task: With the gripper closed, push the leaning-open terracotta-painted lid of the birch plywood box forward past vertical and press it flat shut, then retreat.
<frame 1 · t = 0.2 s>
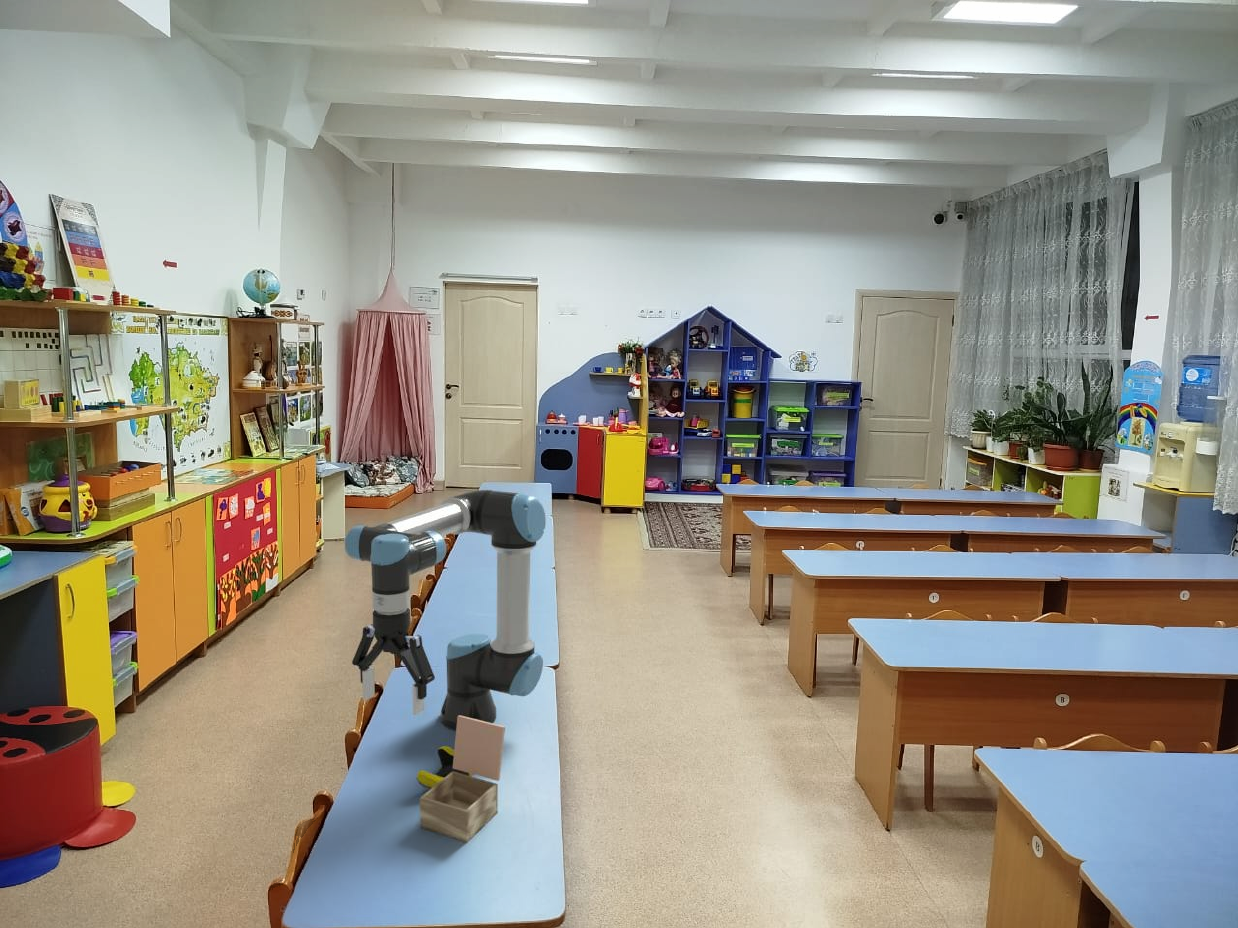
hand: (393, 704, 176), 28 cm above the table, fingers open, 13 cm apart
box: (459, 819, 183), on the table
gaming controller: (447, 782, 198), on the table
lid: (478, 747, 188), point 14 cm above the table, hinge at 100.0°
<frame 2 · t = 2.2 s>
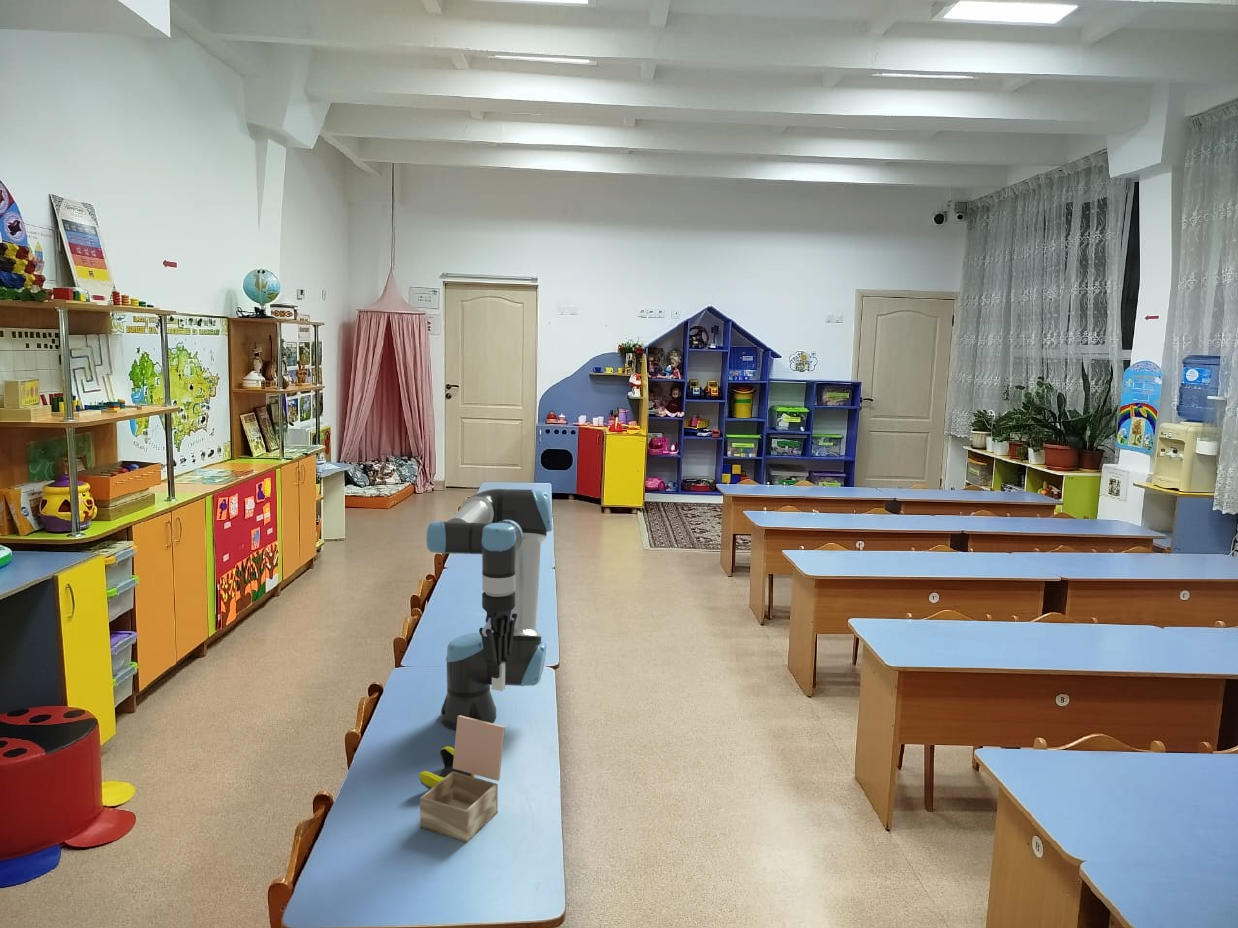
hand: (498, 688, 193), 24 cm above the table, fingers closed
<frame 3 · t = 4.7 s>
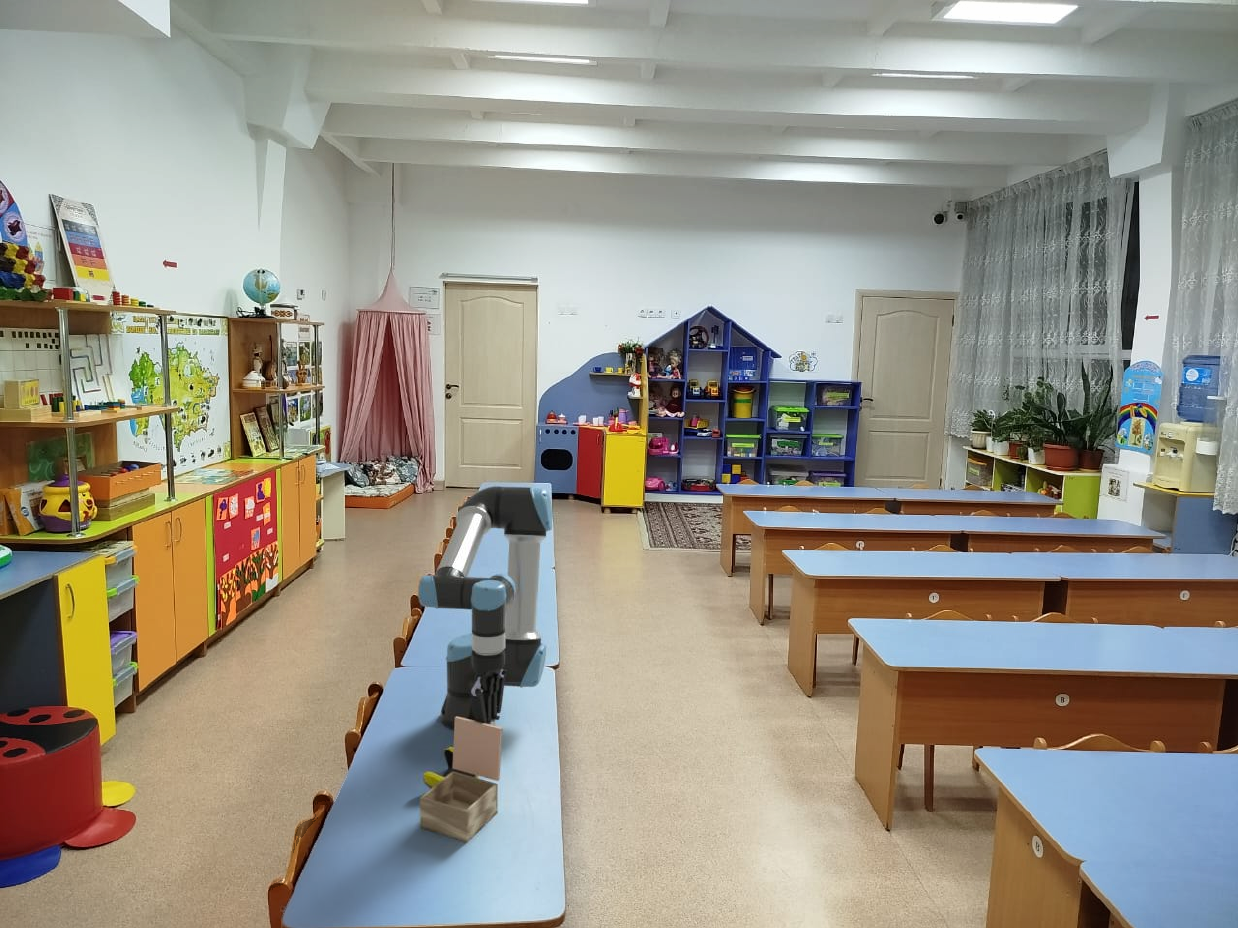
hand: (488, 746, 191), 12 cm above the table, fingers closed
lid: (477, 747, 187), point 14 cm above the table, hinge at 94.9°, touching gripper, hand
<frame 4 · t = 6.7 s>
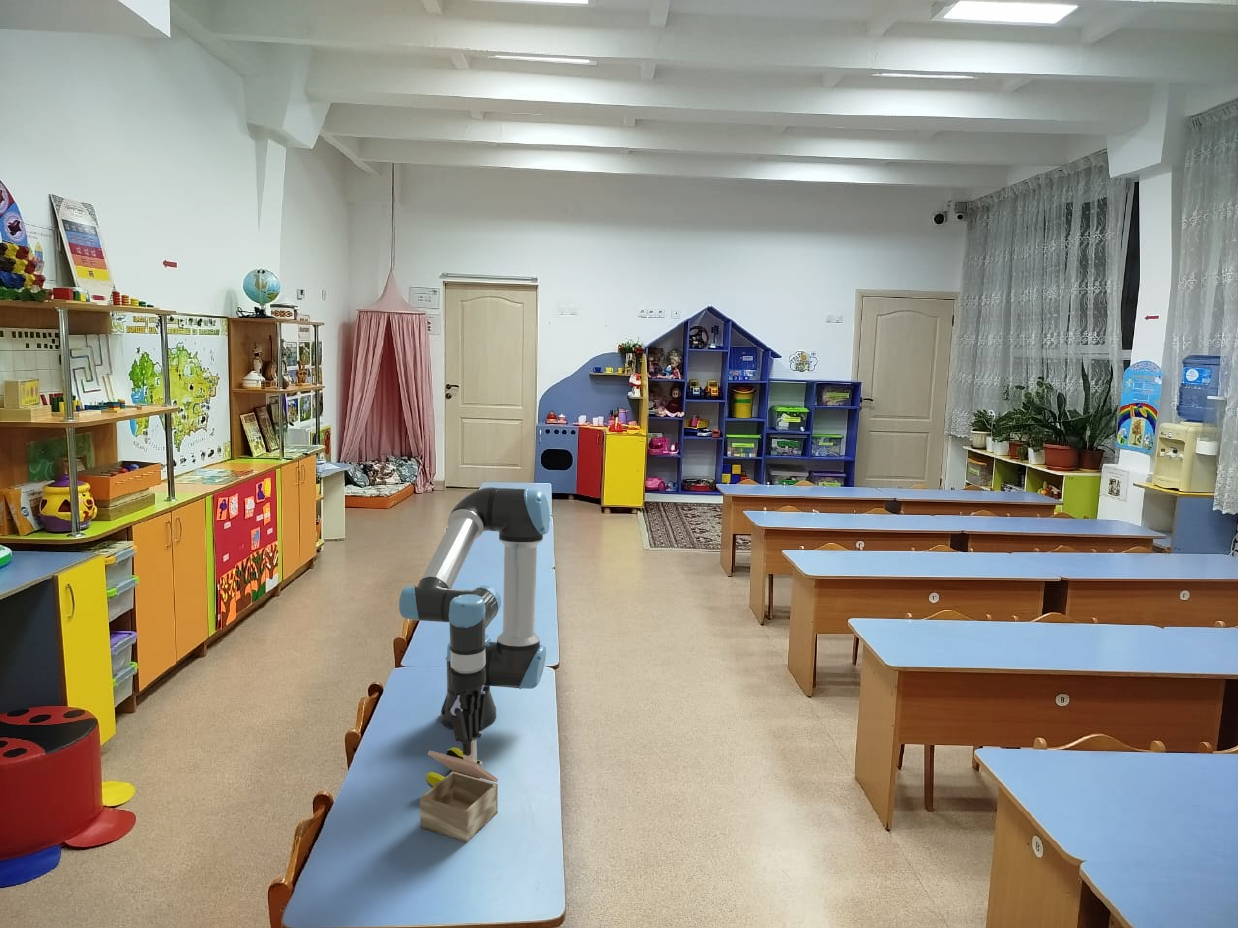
hand: (470, 765, 185), 11 cm above the table, fingers closed
lid: (463, 766, 182), point 12 cm above the table, hinge at 42.9°, touching gripper
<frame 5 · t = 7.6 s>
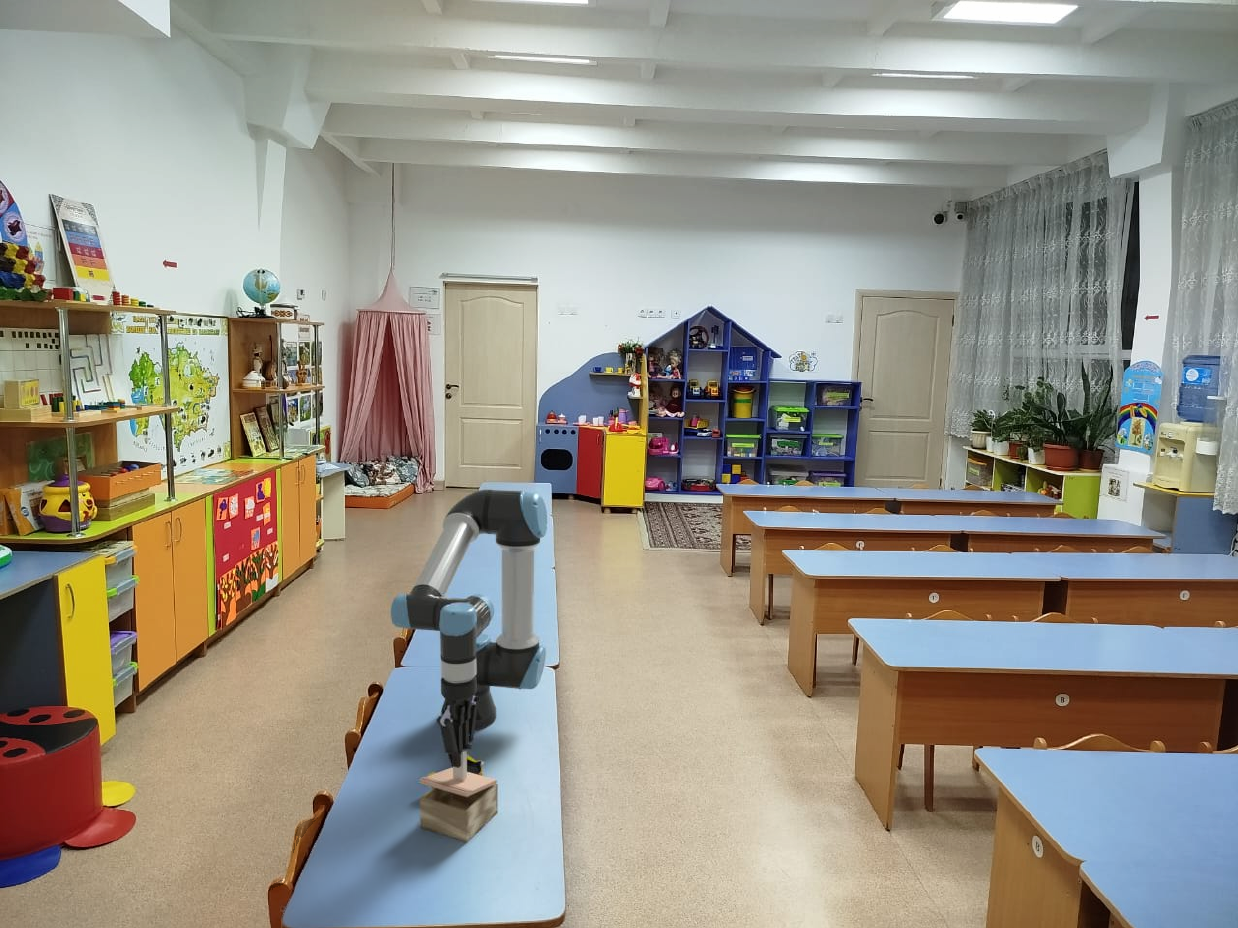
hand: (459, 777, 181), 10 cm above the table, fingers closed
lid: (459, 780, 181), point 9 cm above the table, hinge at 15.3°, touching gripper
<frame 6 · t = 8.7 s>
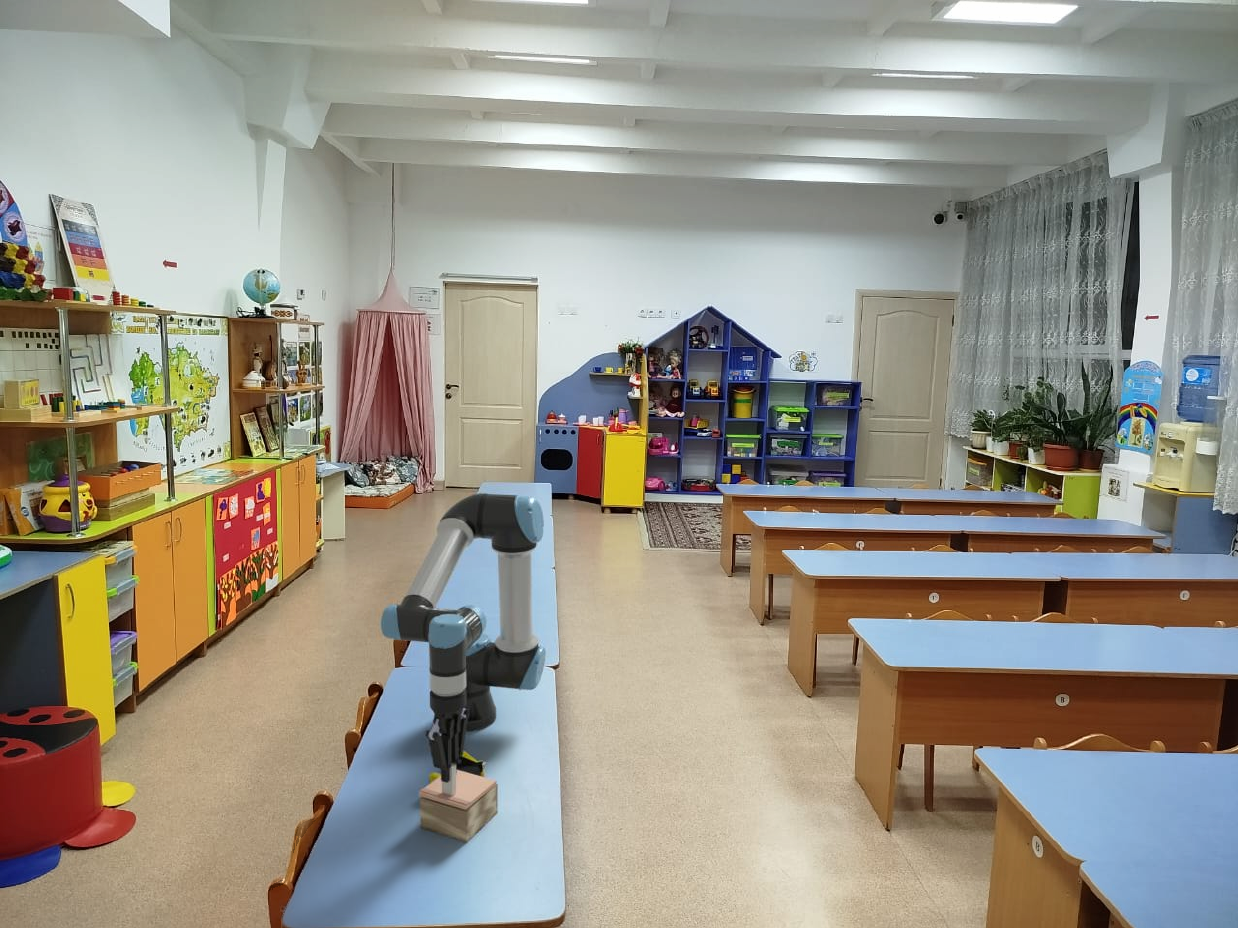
hand: (449, 792, 178), 9 cm above the table, fingers closed
lid: (458, 787, 181), point 8 cm above the table, hinge at 2.7°, touching gripper
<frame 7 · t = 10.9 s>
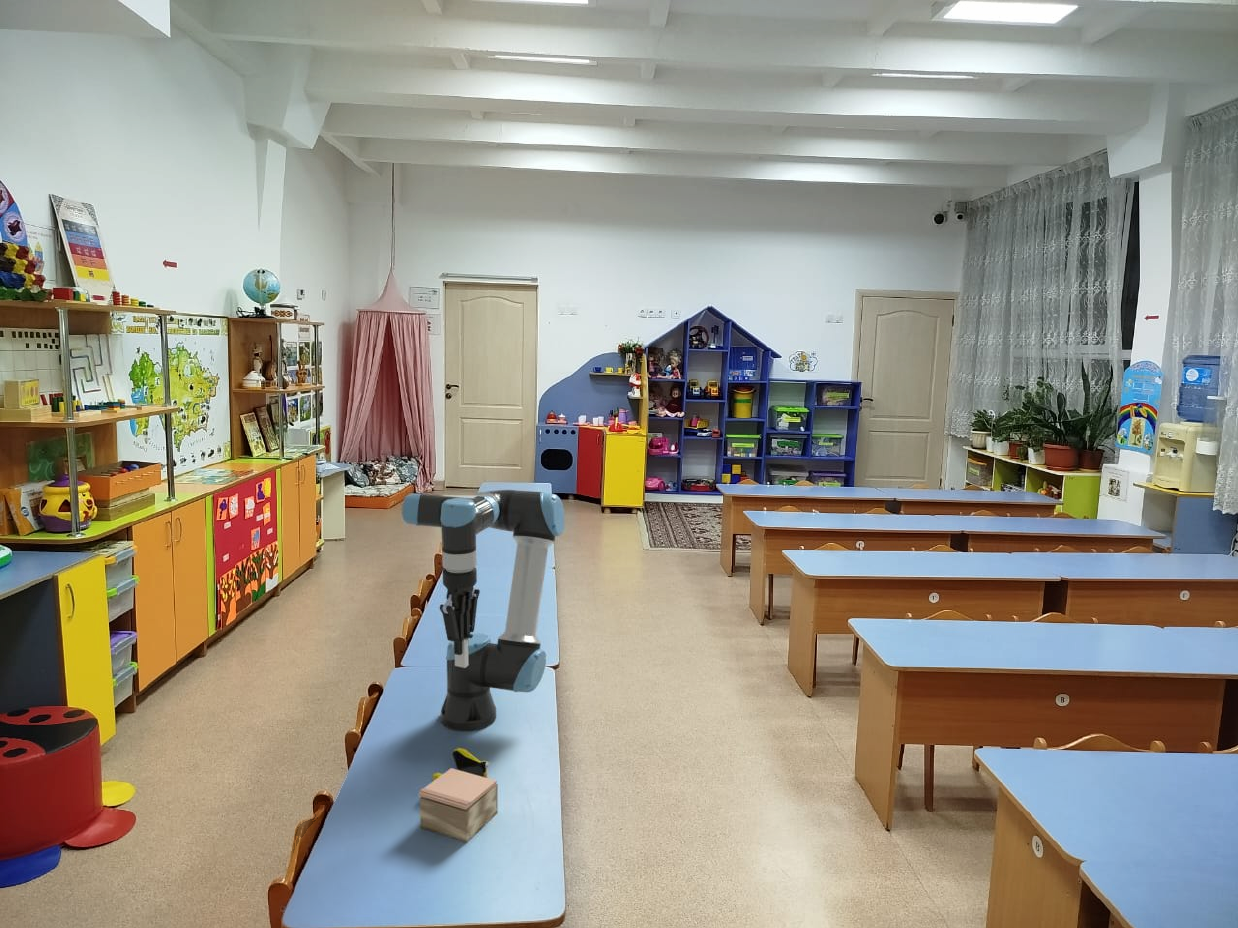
hand: (461, 665, 191), 30 cm above the table, fingers closed
lid: (458, 787, 181), point 8 cm above the table, hinge at 2.7°
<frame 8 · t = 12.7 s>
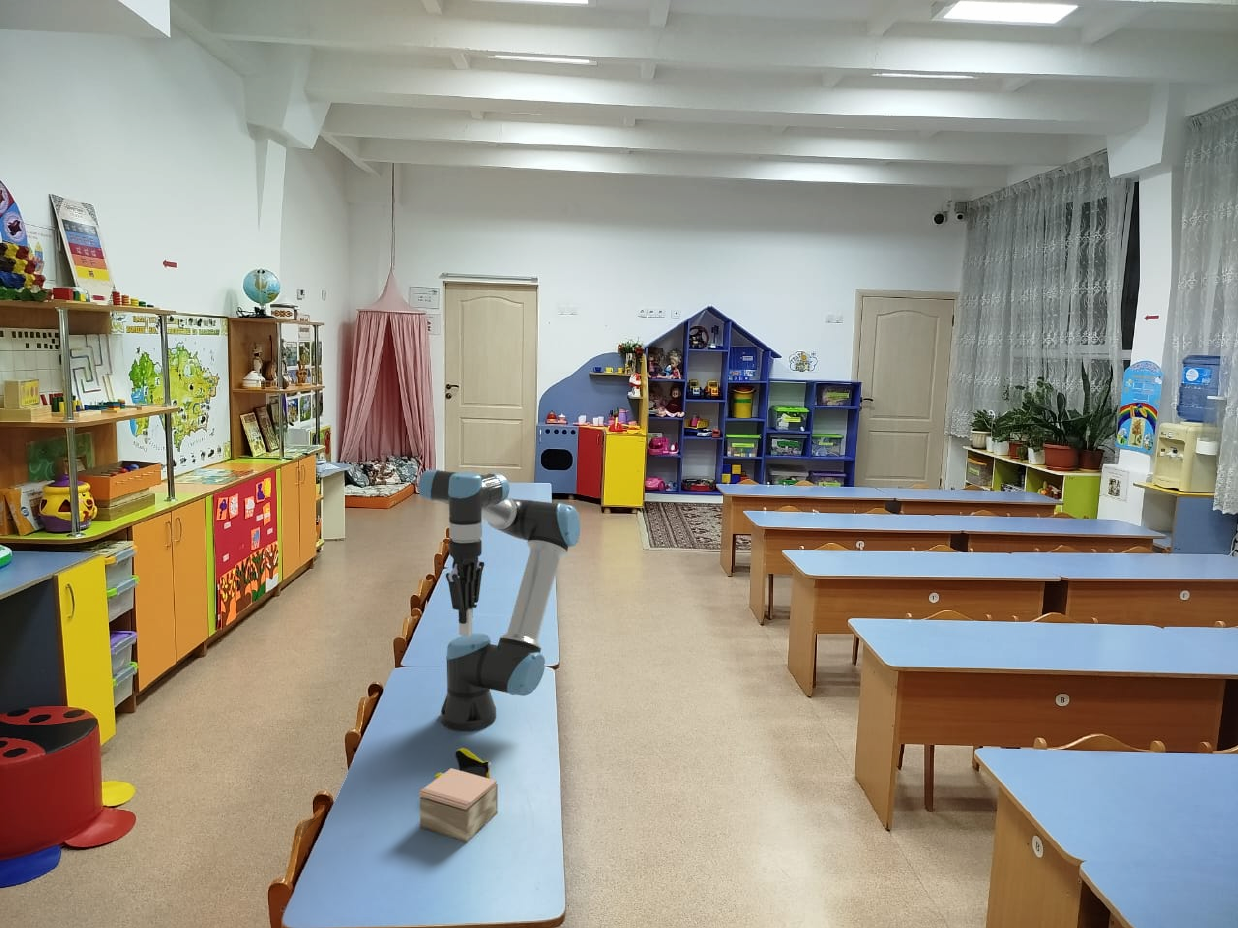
hand: (465, 634, 199), 34 cm above the table, fingers closed
at the end: lid at +3° (first picture: +100°) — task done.
